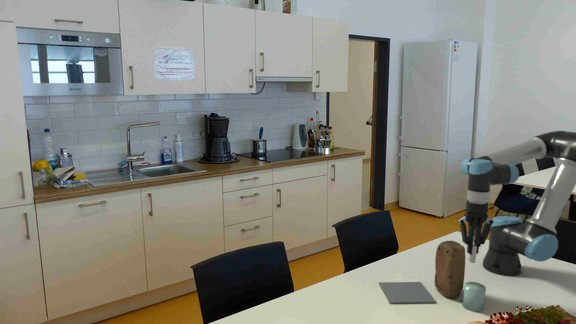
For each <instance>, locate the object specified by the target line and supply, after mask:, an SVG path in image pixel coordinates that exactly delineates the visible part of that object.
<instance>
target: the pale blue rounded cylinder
mask: <svg viewBox="0 0 576 324" xmlns="http://www.w3.org/2000/svg"><path fill="white" fill-rule="evenodd" d="M486 291H487V287H486V286H485V285H484V284H482V283H480V282H477V281H476V282H475V281H467V282H464V285H463V299H462V308H464V309H465V310H467V311H470V312H474V313H481V312H483V311H484V310H485V302H486V300H485V299H486Z"/></svg>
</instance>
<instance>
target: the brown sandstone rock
mask: <svg viewBox="0 0 576 324" xmlns="http://www.w3.org/2000/svg"><path fill="white" fill-rule="evenodd" d="M434 262H435V263H434V265H435V266H434V269H435V275H434V286H435V289H436V291H438V292H439V293H440V295H442V296H444V298H445V297H446V298H452V299H454V298H458V297H459V296H460V295H461V294H462V291H463V290H464V285H465V273H466V272H465V270H466V248H465V246H464V245H462V244H461V243H459V242H457V241H454V240H445V241H441V242H439V244H438V246H437V248H436V252H435V261H434Z"/></svg>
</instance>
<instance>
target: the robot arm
mask: <svg viewBox="0 0 576 324" xmlns="http://www.w3.org/2000/svg"><path fill="white" fill-rule="evenodd" d="M545 158H552V159H555V163H556V167H555V169H554V171H553V173H552V175H551V177H550V179H549V182H548V184H547V186H546V187H545V190H544V192H543V194H542V196H541V198H540V200H539V202H538V204H537V206H536V208H535V210H534V212H533V215H532V216H531V217H530V218H528V219H525V221H524V223H523V219H521V218H520V217H517V216H509V215H500V216H499V215H498V216H494V217H493V218H490V217H489V215H488V213H489V212H488V211H489V201H490V191H491V186H497V185H498V186H499V185H510V184H515V182H517V181H518V180H519V176H520V171H519V168H518V167H517V166H516V165H519V164H521V163H525V162H527V161H530V160H533V159H534V160H535V159H537V160H540V159H545ZM460 169H461V172H462V173H463V174H464V175H466V176H468V181H467V193H466V203H465V212H464V213H465V214H464V215H463V217H462V218H458V219H457V221H458V224H459V227H460V232H461V241H462V242H463V244H465V245H466V246H467V247H466V253H467V254H468V257H467V260H468V261H469V263H471V264H476V259H477V255H478V254H479V252H480V251H479V250H480V248H481V245H485V243H486V241H487V237H488V235H489V240H488V241H489V242H488V250H486V251H487V252H486V253H485V256H484V257H483V260H482V267H483V268H484V269H485V270H487V271H489V272H491V273H494V274H496V275H500V276H501V275H502V276H512V277H513V276H518V275H520V274H521V273H522V267H523V266H522V264H521V258H520V255H522V256H523V257H526V258H527V259H529V260H533V261H536V262H546V261H548V260H550V259H551V258H552V257H553V256H554V255H555V254H556V253H557V251H558V247H559V240H558V238H557V237H556V236H557V233H558V232H557V230H556V225H557V223H558V222H559V219H560V218H561V215H562V213H563V211H564V209H565V207H566V205H567V203H568V201H569V200H570V197H571V195H572V192H573V191H574V188H575V187H576V131H575V132H574V131H567V130H566V131H565V130H554V131H550V132H545V133H542V134H539V135H535V136H532V137H530V138H528V140H527V141H525V142H522V143H521V142H520V143H519V144H516V145H513V146H509V147H506V148H504V149H500V150H497V151H495V152H491V153H488V154H485V155H483V156H480V157H474V156H473V157H472V156H469V157H465V158H464V159H463V160H462V161H461V165H460ZM467 226H468V227H467ZM467 228H468V229H467Z"/></svg>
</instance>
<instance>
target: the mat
mask: <svg viewBox="0 0 576 324" xmlns="http://www.w3.org/2000/svg"><path fill="white" fill-rule="evenodd" d="M378 285H379V287H380V289H381V290H382V292H383V294H384V296H385V297H386V299H387V301H388V303H389V304H390V305H403V304H405V305H407V304H410V305H411V304H412V305H414V304H436V303H437V301H436V300H435V298H434V297H433V296H432V295H431V293H430V292H429V290H427V288H426V287H425V286H424V284H423V283H422V282H421V281H398V282H397V281H395V282H394V281H391V282H390V281H389V282H383V281H381V282H378Z"/></svg>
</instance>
